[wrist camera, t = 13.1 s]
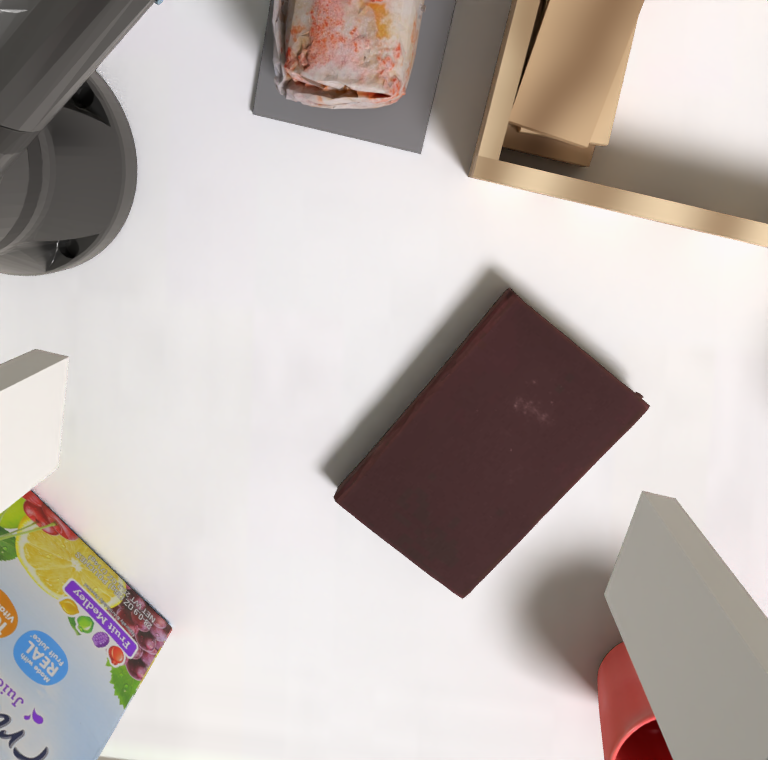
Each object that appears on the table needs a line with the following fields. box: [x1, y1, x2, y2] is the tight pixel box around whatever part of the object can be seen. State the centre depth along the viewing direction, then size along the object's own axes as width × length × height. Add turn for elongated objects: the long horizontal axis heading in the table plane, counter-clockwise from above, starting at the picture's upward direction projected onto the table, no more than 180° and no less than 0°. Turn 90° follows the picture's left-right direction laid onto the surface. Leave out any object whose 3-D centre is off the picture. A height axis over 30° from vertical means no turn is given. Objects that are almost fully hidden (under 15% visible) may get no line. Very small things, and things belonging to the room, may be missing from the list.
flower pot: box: [597, 641, 673, 760], centre depth 50 cm, size 11×11×10 cm
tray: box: [468, 0, 768, 248], centre depth 40 cm, size 28×19×5 cm
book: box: [334, 288, 650, 599], centre depth 49 cm, size 12×19×3 cm, turn 142°
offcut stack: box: [502, 0, 644, 167], centre depth 40 cm, size 6×15×5 cm, turn 167°
